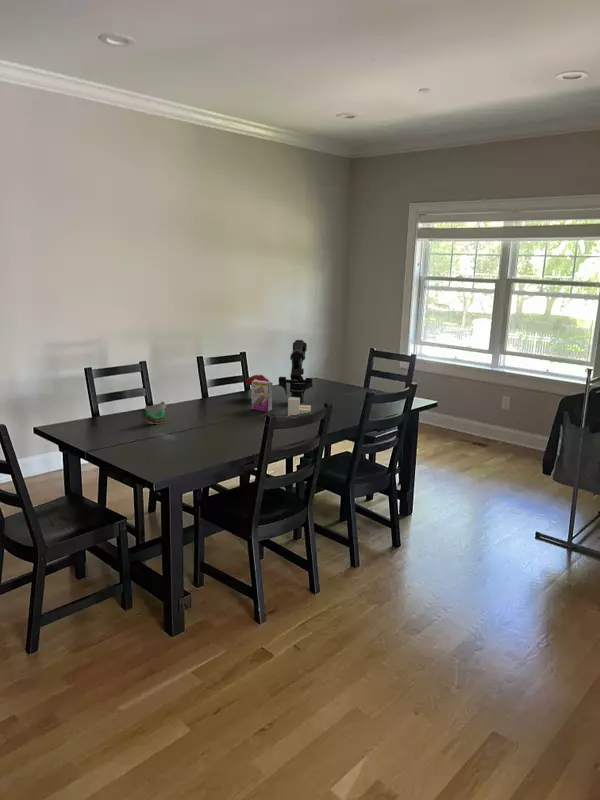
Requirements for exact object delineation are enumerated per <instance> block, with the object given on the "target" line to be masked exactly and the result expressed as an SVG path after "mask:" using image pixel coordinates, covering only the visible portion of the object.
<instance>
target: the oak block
mask: <svg viewBox="0 0 600 800" xmlns="http://www.w3.org/2000/svg"><path fill="white" fill-rule="evenodd" d="M311 410H312V405H310V404H309V405H308V404H300V414H303V413H308V412H310V413H311Z"/></svg>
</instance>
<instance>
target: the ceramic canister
mask: <svg viewBox="0 0 600 800" xmlns="http://www.w3.org/2000/svg"><path fill="white" fill-rule="evenodd" d="M300 405H301V403H300V397H291V396H289V397H288V399H287V417H288V416H290V415H297V414H300Z"/></svg>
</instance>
